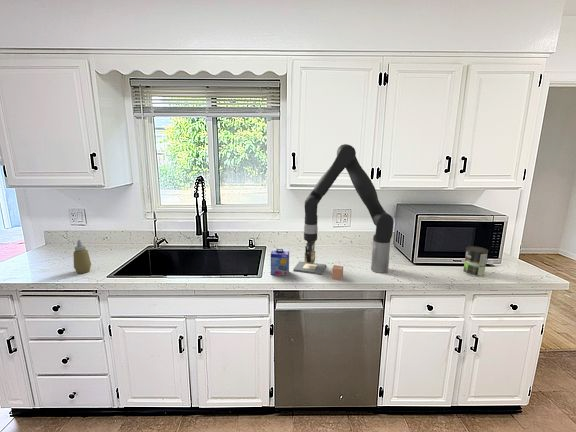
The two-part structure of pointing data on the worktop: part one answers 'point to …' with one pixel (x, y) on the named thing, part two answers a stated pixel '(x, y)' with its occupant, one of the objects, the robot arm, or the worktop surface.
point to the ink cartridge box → (279, 262)
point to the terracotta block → (337, 272)
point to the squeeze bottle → (81, 259)
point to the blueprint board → (310, 267)
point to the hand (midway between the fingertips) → (309, 260)
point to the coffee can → (475, 261)
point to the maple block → (311, 258)
